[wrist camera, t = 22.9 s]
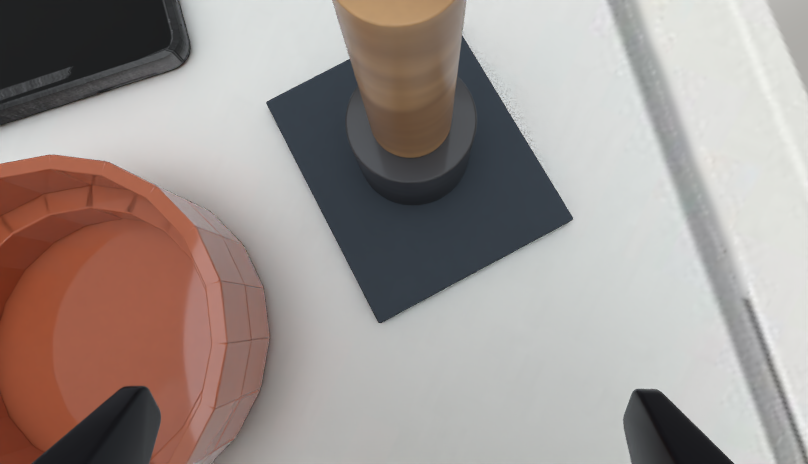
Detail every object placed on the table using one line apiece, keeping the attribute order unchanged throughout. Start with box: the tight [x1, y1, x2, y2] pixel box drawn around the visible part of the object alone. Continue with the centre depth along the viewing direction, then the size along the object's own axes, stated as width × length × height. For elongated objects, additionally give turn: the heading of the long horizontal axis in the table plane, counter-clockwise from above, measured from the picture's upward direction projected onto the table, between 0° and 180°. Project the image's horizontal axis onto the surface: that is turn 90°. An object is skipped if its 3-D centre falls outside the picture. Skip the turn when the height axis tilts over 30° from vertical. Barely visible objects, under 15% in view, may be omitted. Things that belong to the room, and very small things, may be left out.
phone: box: [0, 0, 190, 125], centre depth 25 cm, size 8×1×15 cm
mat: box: [266, 36, 573, 323], centre depth 24 cm, size 12×10×1 cm
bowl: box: [0, 155, 270, 464], centre depth 21 cm, size 14×14×6 cm
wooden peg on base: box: [332, 0, 477, 205], centre depth 17 cm, size 5×5×13 cm
